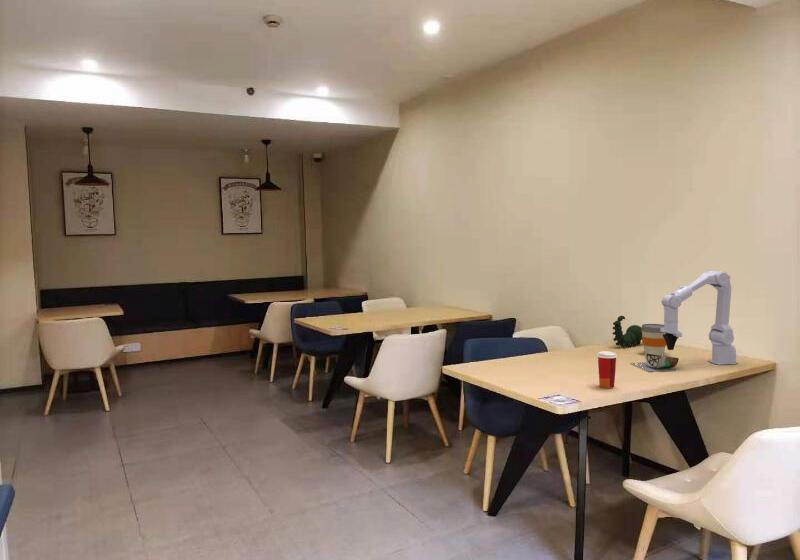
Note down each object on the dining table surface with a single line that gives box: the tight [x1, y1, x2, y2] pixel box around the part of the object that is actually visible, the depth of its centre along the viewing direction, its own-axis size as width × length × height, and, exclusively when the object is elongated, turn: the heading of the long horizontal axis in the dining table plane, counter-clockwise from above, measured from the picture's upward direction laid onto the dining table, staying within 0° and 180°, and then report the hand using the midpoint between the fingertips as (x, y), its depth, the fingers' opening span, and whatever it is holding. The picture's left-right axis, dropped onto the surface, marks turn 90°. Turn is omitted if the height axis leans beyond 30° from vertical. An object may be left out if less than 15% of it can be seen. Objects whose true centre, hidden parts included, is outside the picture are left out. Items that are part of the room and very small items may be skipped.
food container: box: [644, 352, 680, 369], centre depth 257 cm, size 12×6×10 cm
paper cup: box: [596, 350, 618, 389], centre depth 229 cm, size 8×8×14 cm
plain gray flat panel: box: [630, 361, 677, 373], centre depth 260 cm, size 13×17×1 cm
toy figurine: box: [612, 315, 642, 348], centre depth 308 cm, size 9×19×25 cm
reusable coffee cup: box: [641, 323, 667, 356], centre depth 285 cm, size 13×13×15 cm
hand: (670, 349), depth 259 cm, fingers closed
